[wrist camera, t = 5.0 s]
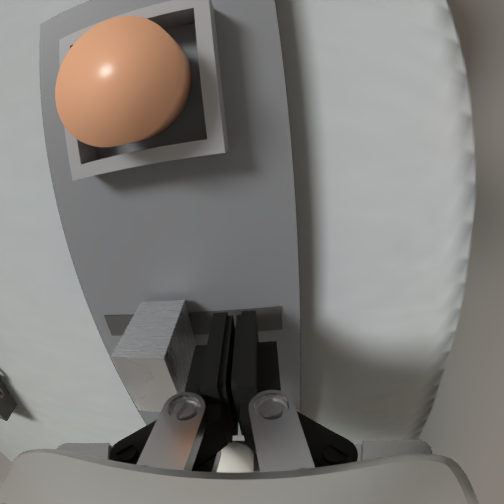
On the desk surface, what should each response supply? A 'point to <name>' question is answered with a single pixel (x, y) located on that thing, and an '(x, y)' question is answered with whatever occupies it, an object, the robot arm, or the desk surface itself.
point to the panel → (187, 183)
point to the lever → (156, 353)
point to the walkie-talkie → (6, 402)
